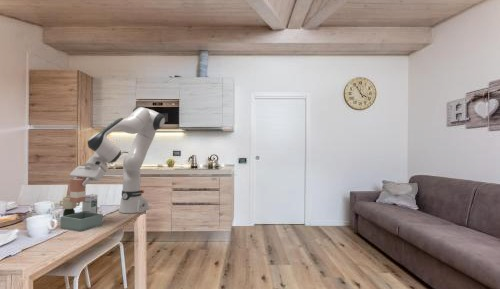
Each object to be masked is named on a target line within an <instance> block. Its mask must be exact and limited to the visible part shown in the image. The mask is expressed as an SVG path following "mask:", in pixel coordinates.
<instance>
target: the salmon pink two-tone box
mask: <svg viewBox="0 0 500 289" xmlns="http://www.w3.org/2000/svg"><path fill="white" fill-rule="evenodd" d="M85 180H86V179H73V178H71V179H70V186H69V187H70V188H69V189H70V191H69V197H70V202H75V203H77V204H78V202H80V203H82V202H83V201H85V195H87V194H86V187H87V186H86V185H87V184H86V185H85V186H82V185H81V183H82V182H84V181H85Z"/></svg>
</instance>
